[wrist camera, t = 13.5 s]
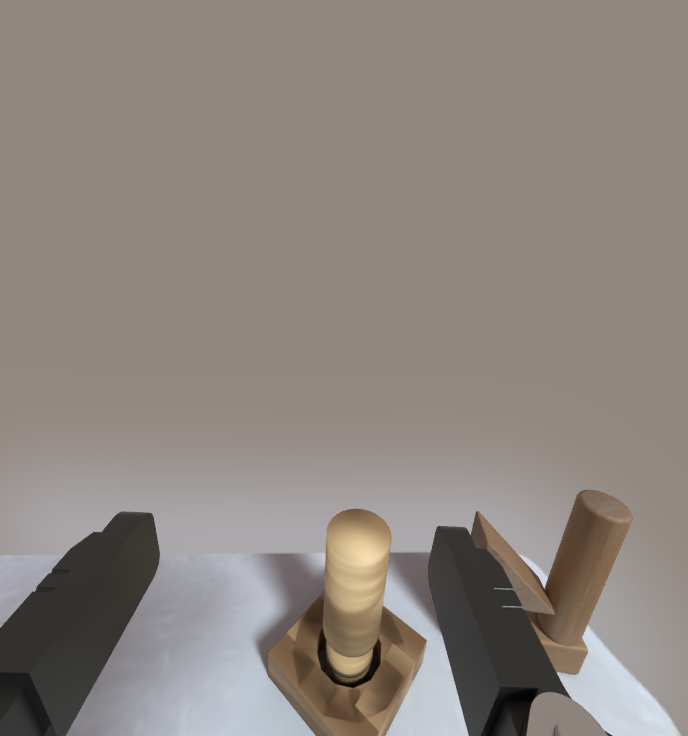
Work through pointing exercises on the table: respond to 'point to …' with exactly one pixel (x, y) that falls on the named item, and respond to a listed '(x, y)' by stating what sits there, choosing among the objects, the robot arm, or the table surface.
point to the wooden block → (565, 574)
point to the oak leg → (354, 593)
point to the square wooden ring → (339, 703)
